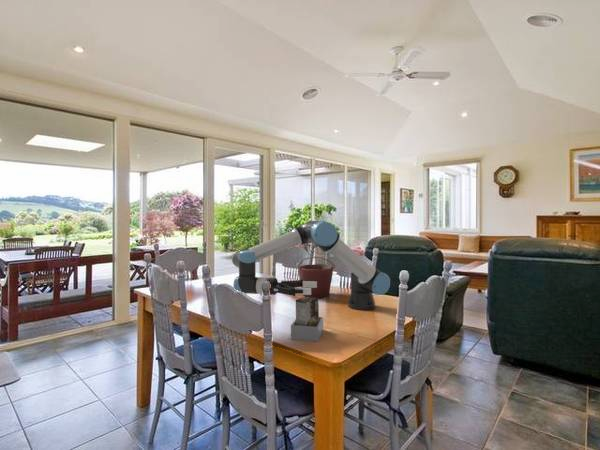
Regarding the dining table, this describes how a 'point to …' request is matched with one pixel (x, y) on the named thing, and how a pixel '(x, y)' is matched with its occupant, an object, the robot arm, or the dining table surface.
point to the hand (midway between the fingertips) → (314, 287)
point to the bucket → (317, 277)
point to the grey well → (307, 331)
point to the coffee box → (307, 311)
